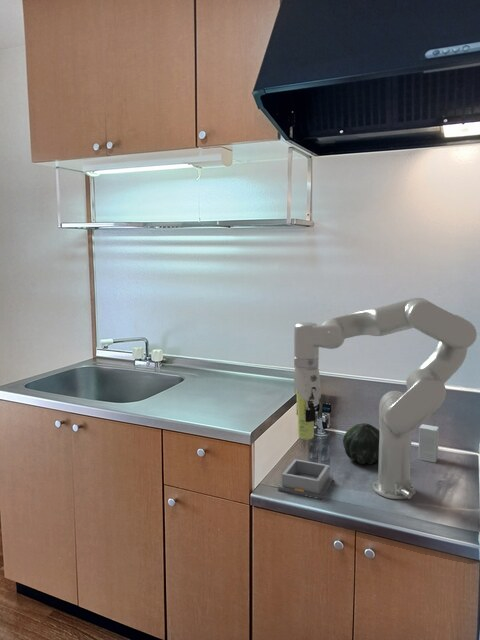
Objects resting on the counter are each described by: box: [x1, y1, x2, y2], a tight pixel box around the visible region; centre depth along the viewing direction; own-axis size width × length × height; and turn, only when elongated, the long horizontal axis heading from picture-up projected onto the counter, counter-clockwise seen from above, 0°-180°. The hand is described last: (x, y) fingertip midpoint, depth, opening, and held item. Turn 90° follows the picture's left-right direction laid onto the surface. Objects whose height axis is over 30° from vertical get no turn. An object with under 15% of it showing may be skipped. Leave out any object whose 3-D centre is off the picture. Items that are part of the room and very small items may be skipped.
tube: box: [296, 388, 315, 440], centre depth 157 cm, size 6×5×20 cm
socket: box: [277, 458, 334, 499], centre depth 160 cm, size 14×14×5 cm
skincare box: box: [417, 423, 440, 463], centre depth 177 cm, size 6×4×12 cm
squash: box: [342, 422, 380, 465], centre depth 177 cm, size 14×15×15 cm
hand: (305, 417), depth 157 cm, fingers closed on tube, 5 cm apart
